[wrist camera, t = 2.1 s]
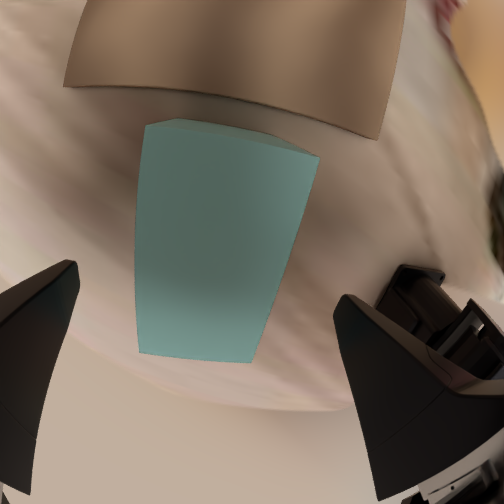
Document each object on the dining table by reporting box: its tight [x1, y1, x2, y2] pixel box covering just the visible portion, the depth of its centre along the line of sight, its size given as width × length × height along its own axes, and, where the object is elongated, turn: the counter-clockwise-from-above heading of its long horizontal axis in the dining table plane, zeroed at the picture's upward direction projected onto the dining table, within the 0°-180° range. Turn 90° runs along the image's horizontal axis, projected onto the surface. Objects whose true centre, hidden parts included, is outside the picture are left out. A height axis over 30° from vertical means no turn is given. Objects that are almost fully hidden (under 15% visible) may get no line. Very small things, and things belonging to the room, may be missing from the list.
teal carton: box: [135, 118, 320, 363], centre depth 12 cm, size 5×9×7 cm, turn 167°
